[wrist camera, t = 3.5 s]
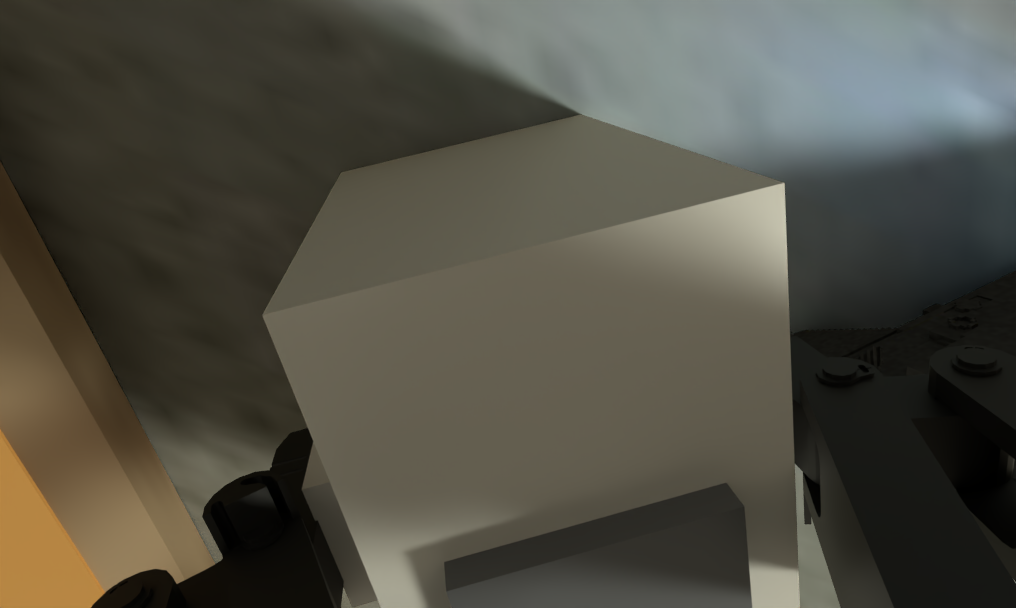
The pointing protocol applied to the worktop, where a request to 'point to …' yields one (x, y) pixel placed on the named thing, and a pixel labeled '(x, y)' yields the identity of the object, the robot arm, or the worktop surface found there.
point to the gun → (929, 332)
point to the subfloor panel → (71, 447)
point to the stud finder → (552, 373)
